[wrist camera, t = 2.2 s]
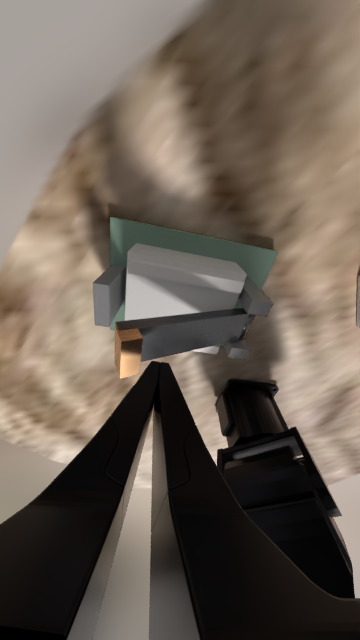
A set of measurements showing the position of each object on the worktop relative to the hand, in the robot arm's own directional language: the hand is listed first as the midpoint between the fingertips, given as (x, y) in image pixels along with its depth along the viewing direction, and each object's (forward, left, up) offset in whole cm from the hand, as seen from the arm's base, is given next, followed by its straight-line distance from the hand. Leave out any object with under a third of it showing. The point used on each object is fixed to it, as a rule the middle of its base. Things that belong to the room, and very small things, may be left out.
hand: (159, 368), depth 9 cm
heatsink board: (-1, 0, -10) cm, 10 cm away
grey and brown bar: (-2, 0, -4) cm, 4 cm away
